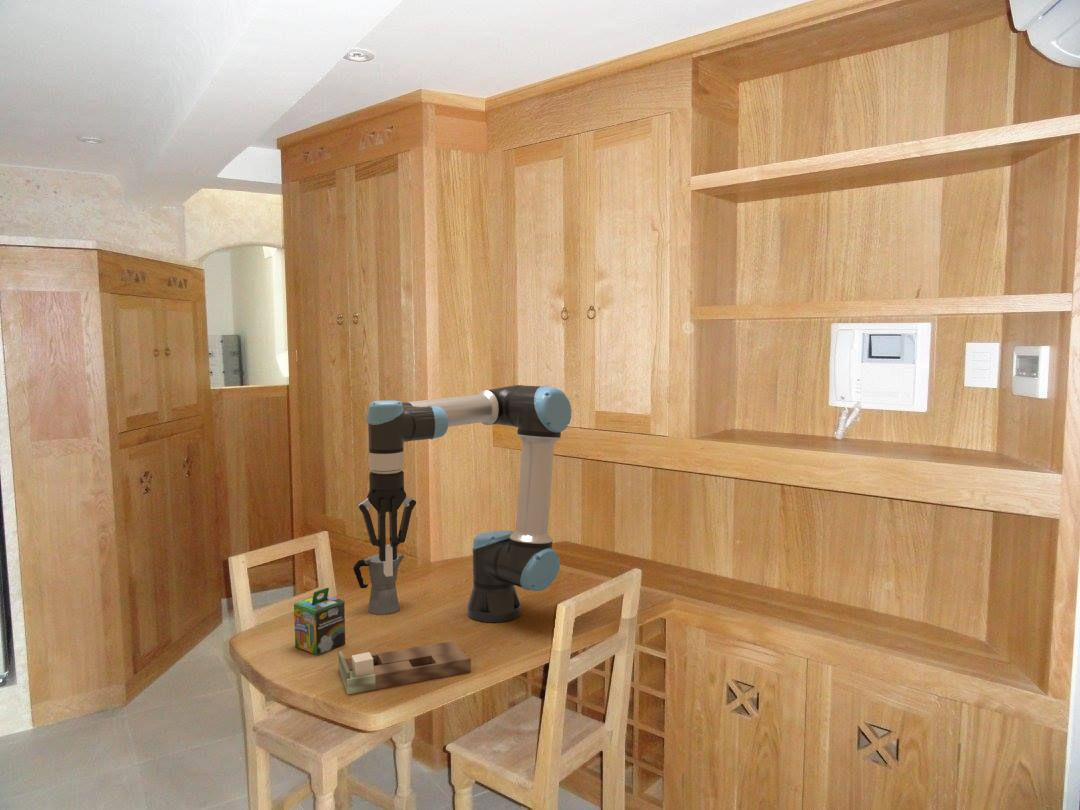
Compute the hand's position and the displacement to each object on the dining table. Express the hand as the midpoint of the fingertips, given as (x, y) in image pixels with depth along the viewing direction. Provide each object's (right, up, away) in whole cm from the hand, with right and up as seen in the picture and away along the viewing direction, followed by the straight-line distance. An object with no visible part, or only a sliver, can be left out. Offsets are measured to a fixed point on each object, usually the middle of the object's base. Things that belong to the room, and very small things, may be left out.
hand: (388, 574), depth 167 cm
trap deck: (+3, -24, +6) cm, 25 cm away
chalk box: (-21, -23, +21) cm, 37 cm away
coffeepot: (-11, -21, +45) cm, 51 cm away
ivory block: (-5, -22, -1) cm, 23 cm away
